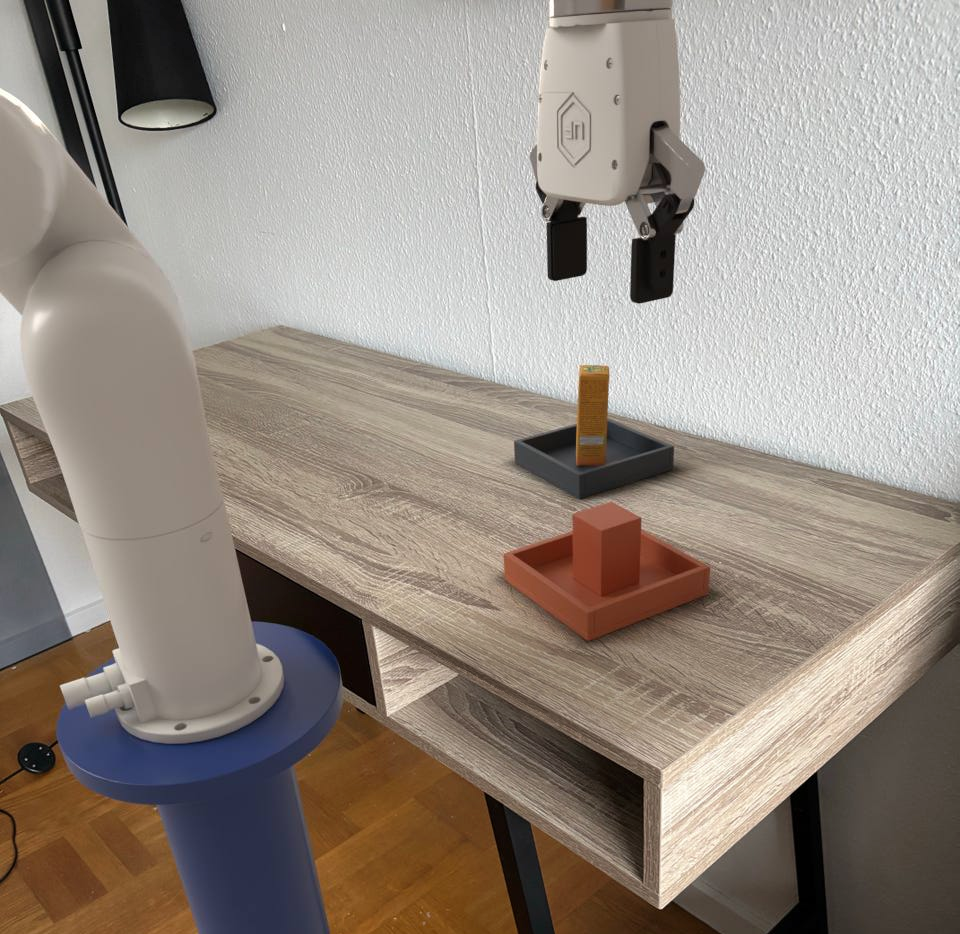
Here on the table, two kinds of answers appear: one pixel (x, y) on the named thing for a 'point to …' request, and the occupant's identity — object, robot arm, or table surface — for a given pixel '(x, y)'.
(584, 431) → the supplement box
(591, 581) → the terracotta block
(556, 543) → the terracotta tray
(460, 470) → the table surface
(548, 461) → the slate tray
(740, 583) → the table surface
